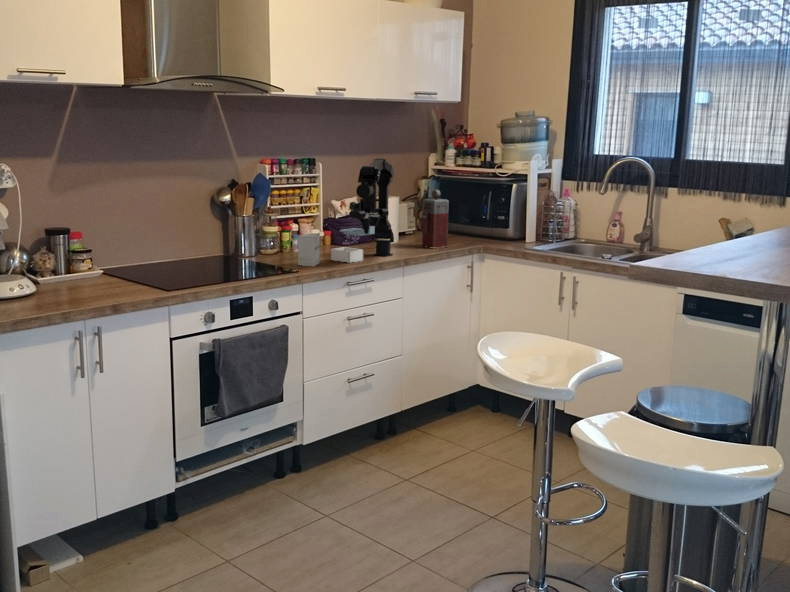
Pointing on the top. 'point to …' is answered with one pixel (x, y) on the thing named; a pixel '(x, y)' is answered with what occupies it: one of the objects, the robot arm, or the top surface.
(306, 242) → the supplement box
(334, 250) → the tub
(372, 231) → the light blue tapered piece
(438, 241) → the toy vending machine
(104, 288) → the top surface
